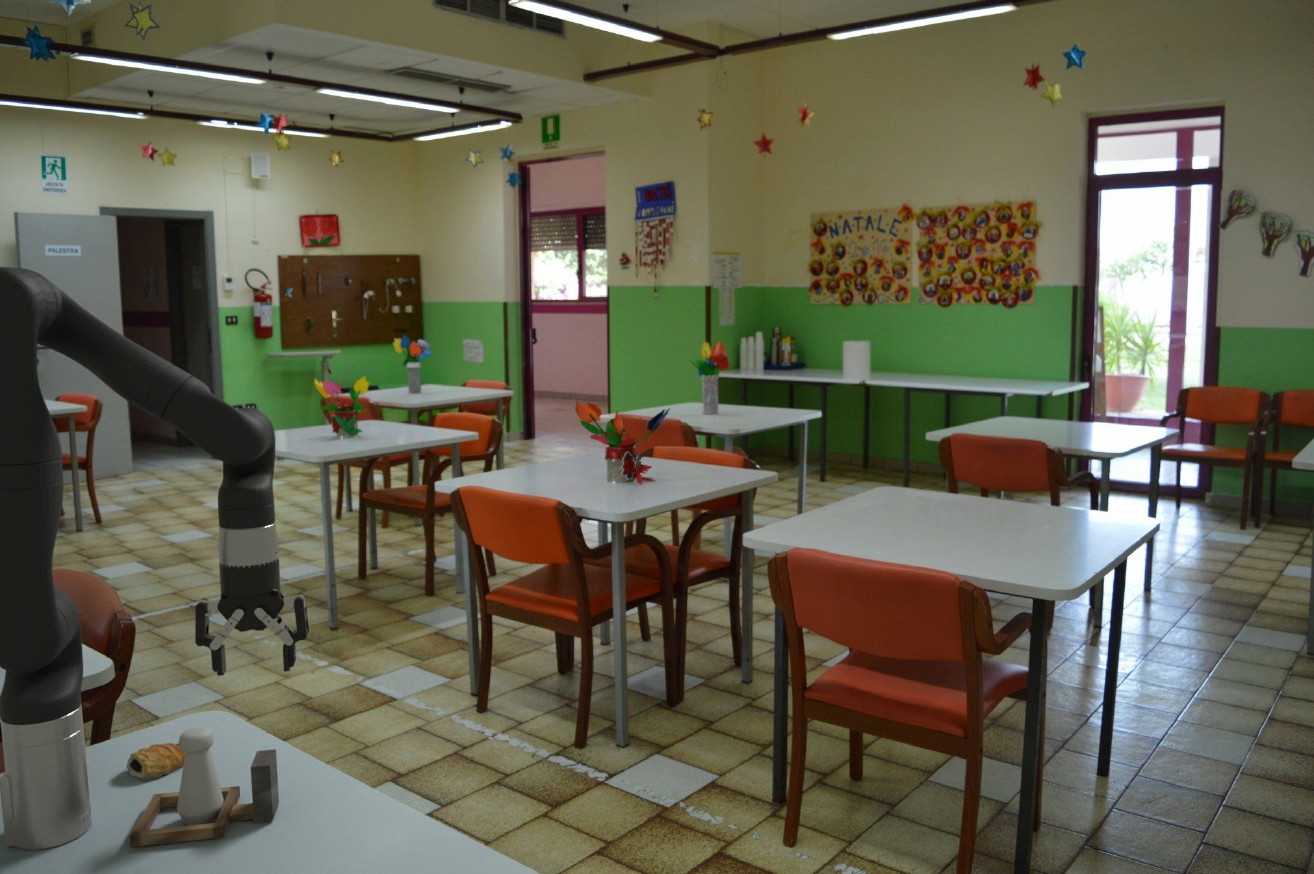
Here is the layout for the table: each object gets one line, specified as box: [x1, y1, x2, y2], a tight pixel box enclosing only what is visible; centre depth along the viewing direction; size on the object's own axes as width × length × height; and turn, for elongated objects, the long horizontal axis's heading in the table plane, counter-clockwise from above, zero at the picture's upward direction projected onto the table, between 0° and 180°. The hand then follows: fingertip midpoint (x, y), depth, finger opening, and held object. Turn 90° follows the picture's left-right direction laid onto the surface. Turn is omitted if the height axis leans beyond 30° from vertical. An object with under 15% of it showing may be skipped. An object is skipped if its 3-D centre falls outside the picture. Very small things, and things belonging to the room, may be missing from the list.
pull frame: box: [129, 748, 280, 848], centre depth 138 cm, size 17×11×8 cm, turn 102°
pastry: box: [126, 742, 185, 780], centre depth 154 cm, size 9×7×4 cm
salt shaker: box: [176, 726, 224, 826], centre depth 137 cm, size 6×6×13 cm
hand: (255, 671), depth 137 cm, fingers open, 8 cm apart
